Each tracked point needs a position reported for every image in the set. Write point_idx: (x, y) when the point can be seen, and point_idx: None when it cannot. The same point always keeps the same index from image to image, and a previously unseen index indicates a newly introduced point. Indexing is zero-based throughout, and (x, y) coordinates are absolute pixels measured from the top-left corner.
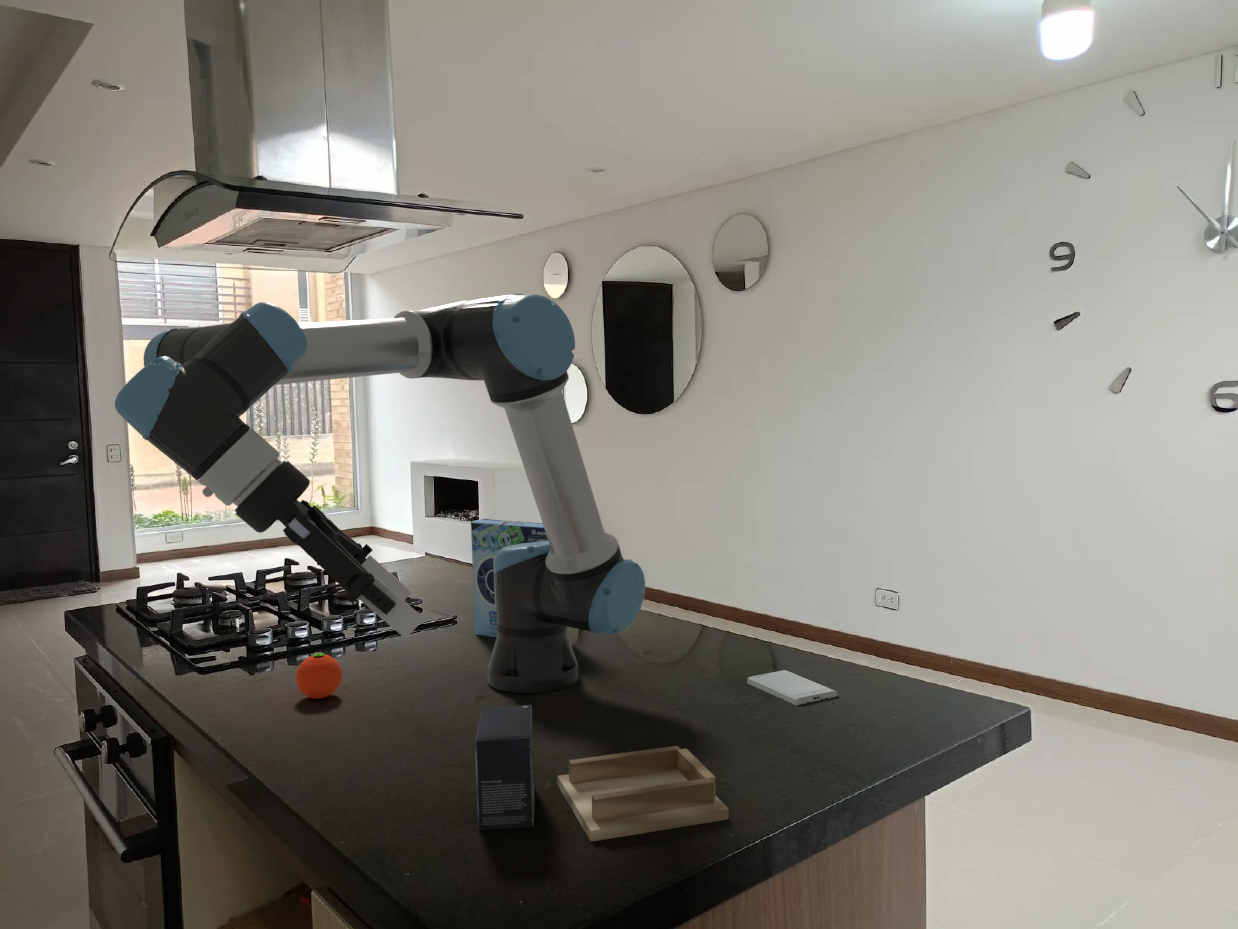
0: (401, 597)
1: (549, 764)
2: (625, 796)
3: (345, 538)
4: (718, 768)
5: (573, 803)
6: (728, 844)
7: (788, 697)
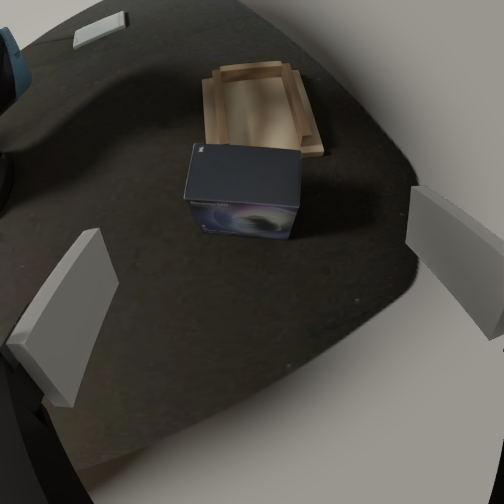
0: (104, 260)
1: (159, 173)
2: (305, 114)
3: (40, 497)
4: (211, 65)
5: None
6: (332, 84)
7: (117, 28)
